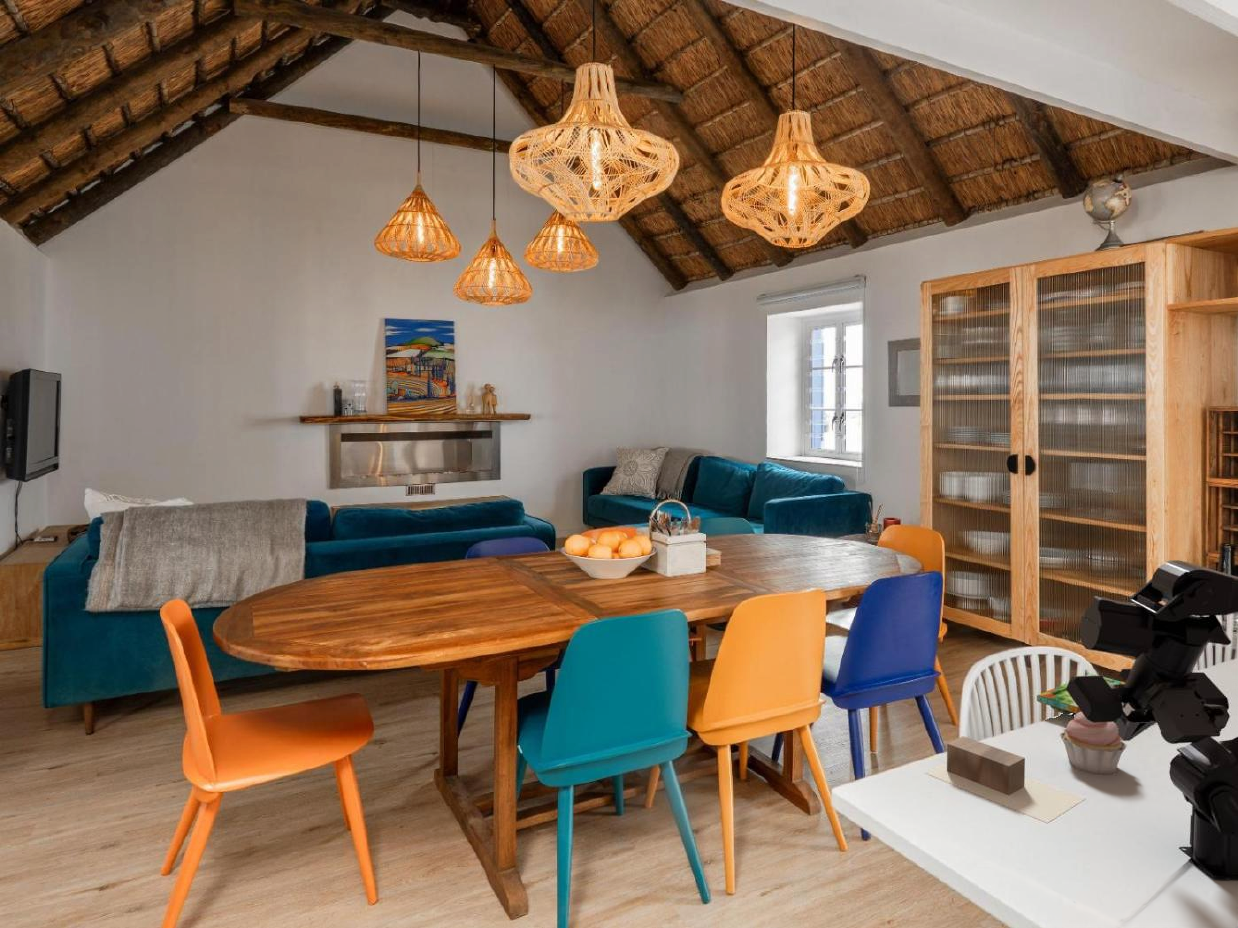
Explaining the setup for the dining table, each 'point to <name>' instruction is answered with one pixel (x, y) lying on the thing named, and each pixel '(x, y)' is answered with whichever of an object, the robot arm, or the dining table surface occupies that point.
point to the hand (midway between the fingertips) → (1123, 738)
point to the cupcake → (1093, 745)
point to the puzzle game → (1065, 698)
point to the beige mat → (1018, 795)
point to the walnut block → (986, 765)
